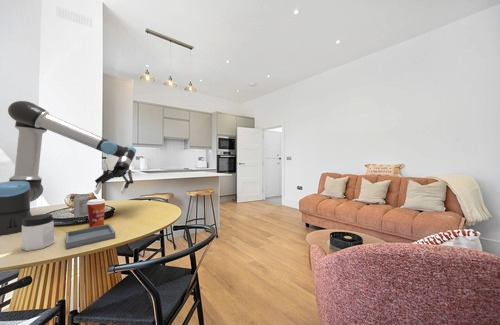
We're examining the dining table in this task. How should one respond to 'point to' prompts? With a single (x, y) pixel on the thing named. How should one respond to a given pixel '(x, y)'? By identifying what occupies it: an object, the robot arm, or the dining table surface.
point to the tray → (89, 236)
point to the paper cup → (96, 212)
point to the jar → (37, 232)
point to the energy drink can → (80, 205)
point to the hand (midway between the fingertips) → (109, 192)
